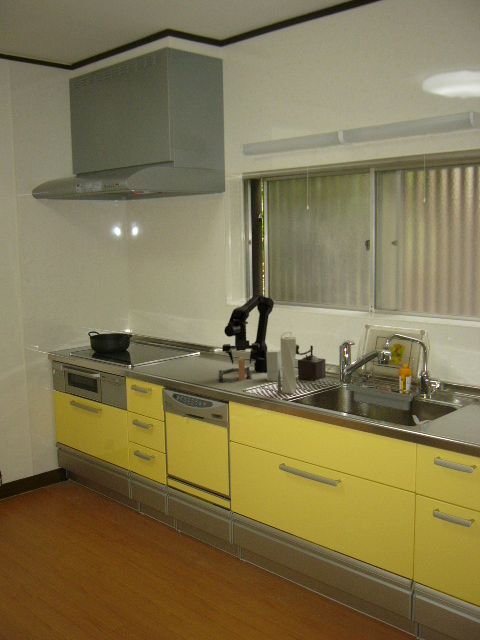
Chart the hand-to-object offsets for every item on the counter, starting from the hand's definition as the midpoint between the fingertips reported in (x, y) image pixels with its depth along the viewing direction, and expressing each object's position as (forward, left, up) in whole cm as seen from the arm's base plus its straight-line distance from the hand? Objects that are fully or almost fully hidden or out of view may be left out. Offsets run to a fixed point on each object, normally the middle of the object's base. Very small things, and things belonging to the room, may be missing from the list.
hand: (241, 364), depth 338 cm
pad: (+8, +3, -8) cm, 11 cm away
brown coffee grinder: (-33, +4, -8) cm, 35 cm away
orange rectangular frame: (0, 0, -8) cm, 8 cm away
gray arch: (+4, +3, -7) cm, 9 cm away
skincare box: (-16, +4, -8) cm, 19 cm away
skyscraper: (-21, +30, -8) cm, 38 cm away
